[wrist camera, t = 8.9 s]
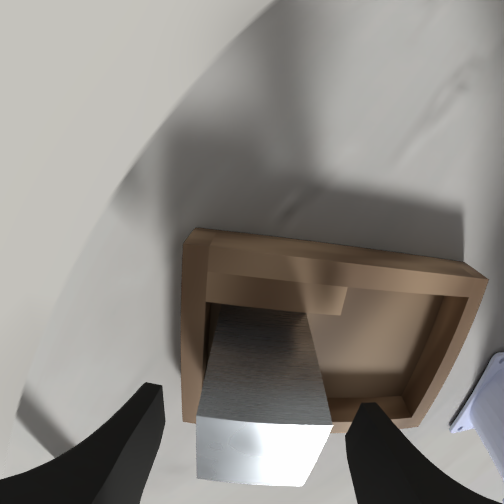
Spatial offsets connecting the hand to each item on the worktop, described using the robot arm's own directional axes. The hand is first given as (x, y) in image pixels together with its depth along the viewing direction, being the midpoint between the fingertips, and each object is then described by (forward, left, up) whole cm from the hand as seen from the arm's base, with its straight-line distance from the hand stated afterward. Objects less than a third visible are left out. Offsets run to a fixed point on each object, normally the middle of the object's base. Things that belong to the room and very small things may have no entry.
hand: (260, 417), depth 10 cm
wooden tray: (-3, 0, -6) cm, 7 cm away
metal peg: (0, 0, -5) cm, 5 cm away
